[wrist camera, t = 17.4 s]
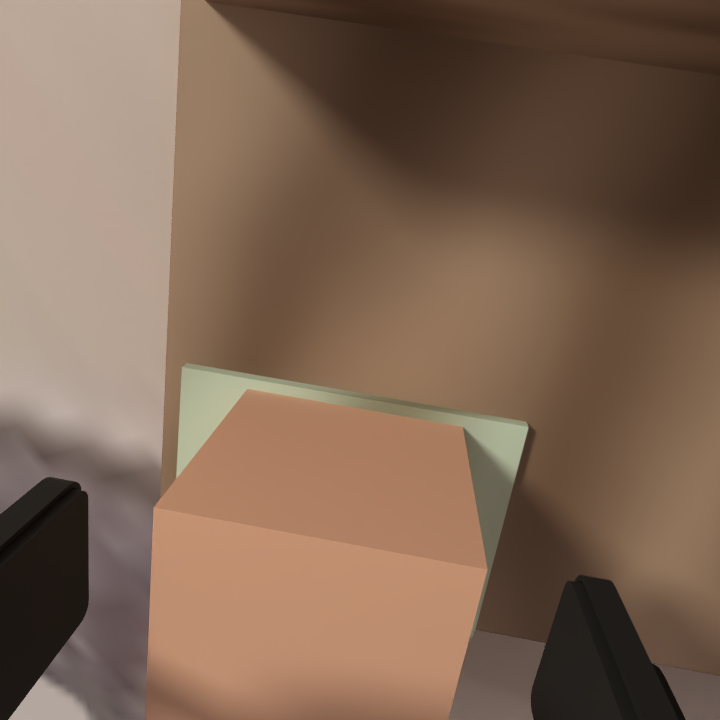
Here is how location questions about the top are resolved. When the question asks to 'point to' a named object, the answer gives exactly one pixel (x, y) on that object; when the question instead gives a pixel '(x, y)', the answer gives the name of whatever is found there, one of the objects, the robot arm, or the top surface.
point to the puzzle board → (474, 268)
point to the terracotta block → (314, 568)
